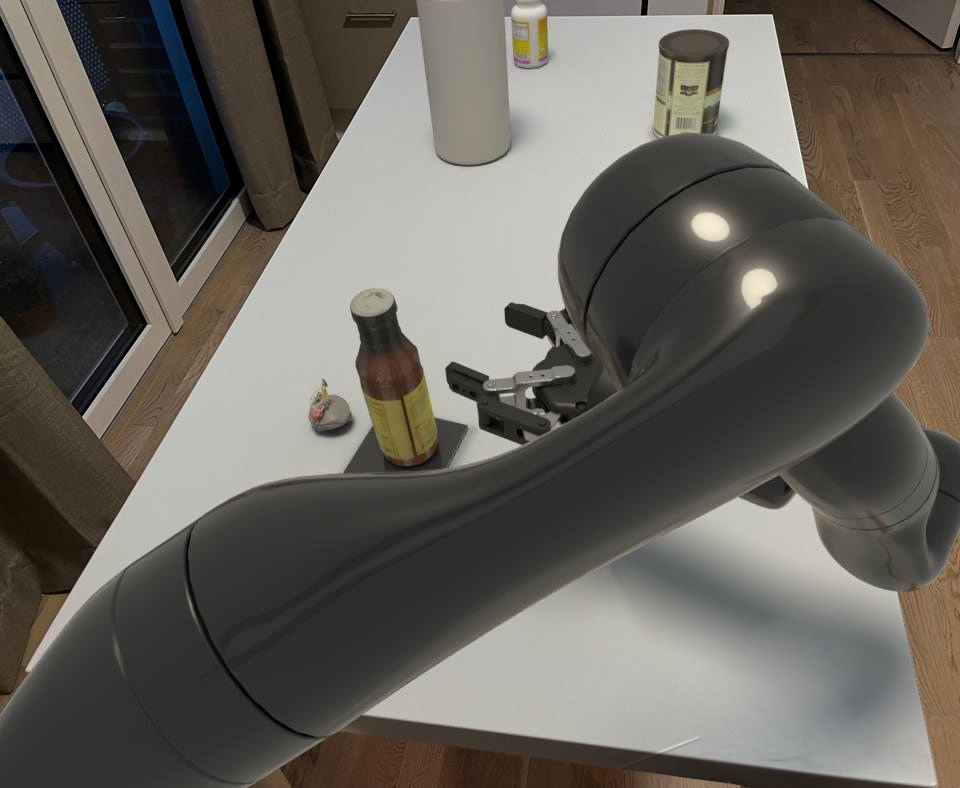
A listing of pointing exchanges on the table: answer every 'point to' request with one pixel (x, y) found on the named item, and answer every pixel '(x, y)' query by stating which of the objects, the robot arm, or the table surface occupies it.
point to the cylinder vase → (466, 78)
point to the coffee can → (689, 82)
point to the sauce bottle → (393, 381)
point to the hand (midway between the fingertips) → (478, 342)
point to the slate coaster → (375, 461)
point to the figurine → (328, 410)
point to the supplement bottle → (529, 33)
